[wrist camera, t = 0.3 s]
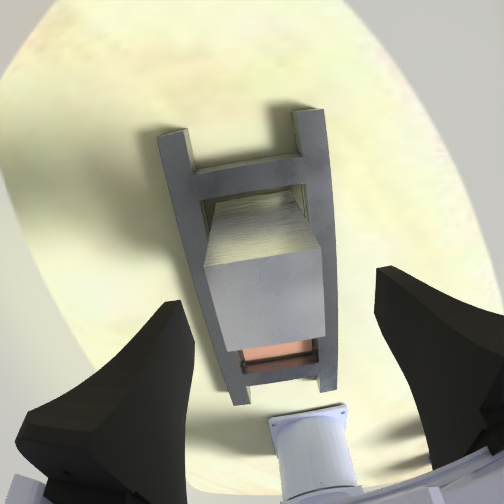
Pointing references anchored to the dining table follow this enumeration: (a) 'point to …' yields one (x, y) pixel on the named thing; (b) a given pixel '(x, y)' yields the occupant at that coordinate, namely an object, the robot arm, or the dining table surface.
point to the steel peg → (264, 272)
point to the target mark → (278, 350)
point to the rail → (316, 214)
